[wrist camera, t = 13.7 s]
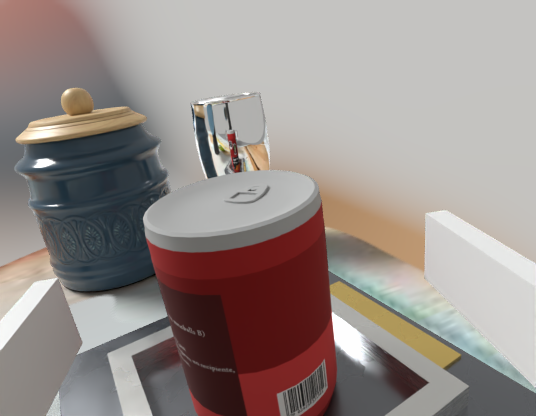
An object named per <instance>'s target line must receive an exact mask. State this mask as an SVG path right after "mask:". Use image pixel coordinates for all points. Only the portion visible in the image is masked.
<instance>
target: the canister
mask: <svg viewBox="0 0 536 416" xmlns="http://www.w3.org/2000/svg"><path fill="white" fill-rule="evenodd" d="M61 104H62V107H63V109H64V111H65V112H66V113H67V115H61V116H56V117H51V118H46V119H41V120H36V121H33V122H30V123H29V125H28V128H27V129H26V130H25V131H24V132H23V133H21V134H20V135H19V136H18V137H17V138H16V142H17V143H19V144H25V153H24V157H23V158H22V159H21V160H20V161H19V162H18V163H17V164H16V165H15V171H16V172H17V173H18V174H20V175H22V176H24V177H25V178H26V180H27V183H28V186H29V190H30V194H31V197H30V199H29V200H28V206H29V207H30V208H31V209H32V210H33V212H34V215H35V218H36V220H37V223H38V225H39V228H40V231H41V234H42V236H43V239H44V242H45V244H46V247H47V249H48V252H49V255H50V264H51V266H52V267H53V271H54V273H55V275H56V276H57V277H58V278H59V279H60V281H61V283H62V284H63V285H64V286H65V287H67V288H69V289H72V290H77V291H101V290H108V289H113V288H117V287H121V286H125V285H128V284H131V283H134V282H137V281H140V280H142V279H145V278H147V277H149V276H151V275H153V274H155V270H154V267H153V263H152V259H151V254H150V250H149V247H148V243H147V240H146V236H145V227H144V222H143V217H144V214H145V212H146V211H147V210H148V209H149V207H150V206H151V205H153V204H154V203H155V202H157V201H158V200H159V199H161V198H162V197H164V196H166V195H167V194H169V193H171V189H170V185H169V181H168V176H169V172H168V170H167V169H165V168H164V167H163V166H162V164H161V161H160V158H159V154H158V148H159V146H160V144H161V139H160V138H158V137H157V136H155V135H152V134H150V133H148V132H147V131H146V129H145V127H144V126H143V124H142V123H143V122H145V121H146V120H147V117H146V116H144V115H142V114H139V113H136V112H134V111H132V110H131V109H130V108H128V107H116V108H107V109H100V110H93V106H94V105H93V100H92V98H91V96H90V95H89V93H88V92H87V91H85V90H84V89H81V88H71V89H68V90H66V91H65V92H64V93H63V95H62V98H61Z"/></svg>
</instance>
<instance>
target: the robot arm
mask: <svg viewBox="0 0 536 416" xmlns="http://www.w3.org/2000/svg"><path fill="white" fill-rule="evenodd" d="M425 227H426V228H425V279H426V280H427V281H428V282H429V283H430V284H431V285H432V286H433V287H434V288H435V289H436V290H437V291H438V292H439V293H440V294H441V295H442V296H443V297H444V298H445V299H446V300H447V301H448V302H449V303H450V304H451V305H452V306H453V307H454V308H455V309H456V310H457V311H458V312H459V313H460V314H461V315H462V316H463V317H464V318H465V319H466V320H467V321H468V322H469V323H470V324H471V325H472V326H473V327H474V328H475V329H476V330H477V331H478V332H479V333H480V334H481V335H482V336H483V337H484V338H485V339H486V340H487V341H488V342H490V343H491V344H492V345H493V346H494V347H495V348H496V349H497V350H498V351H499V352H500V353H501V354H502V355H503V356H504V357H505V358H506V359H507V360H508V361H509V362H510V363H511V364H512V365H513V366H514V367H515V368H516V369H517V370H518V371H519V372H520V373H521V374H522V375H523V376H524V377H525V378H526V379H527V380H528V381H529V382H530V383H531V384H532V385H533V386H534V387H535V388H536V263H534V262H532V261H531V260H529V259H527V258H526V257H524V256H522V255H520V254H519V253H517V252H516V251H514V250H512V249H510V248H509V247H507V246H505V245H504V244H502V243H500V242H499V241H497V240H495V239H494V238H492V237H490V236H489V235H487V234H485V233H484V232H482V231H480V230H479V229H477V228H475V227H473V226H472V225H470V224H468V223H467V222H465V221H463V220H462V219H460V218H458V217H457V216H455V215H453V214H452V213H450V212H448V211H447V210H442V211H436V212H431V213H426V222H425ZM81 345H82V340H81V338H80V335H79V332H78V330H77V327H76V324H75V322H74V319H73V316H72V314H71V311H70V308H69V306H68V303H67V300H66V298H65V295H64V293H63V290H62V287H61V285H60V282H59V279H58V278H54V279H49V280H43V281H37V282H34V283H33V284H32V286H31V287H30V288H29V289H28V290H27V291H26V292H25V294H24V295H23V296H22V297H21V298H20V299H19V300H18V301H17V303H16V304H15V305H14V306H13V307H12V308H11V309H10V310H9V312H8V313H7V314H6V315H5V316H4V317H3V318H2V320H1V321H0V416H46V414H47V412H48V410H49V408H50V406H51V404H52V402H53V400H54V398H55V396H56V395H57V393H58V391H59V389H60V387H61V385H62V383H63V381H64V379H65V377H66V375H67V373H68V371H69V369H70V367H71V365H72V363H73V361H74V359H75V357H76V355H77V353H78V351H79V349H80V347H81Z"/></svg>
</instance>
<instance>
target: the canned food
mask: <svg viewBox="0 0 536 416" xmlns="http://www.w3.org/2000/svg"><path fill="white" fill-rule="evenodd" d="M143 222H144V227H145V236H146V240H147V243H148V247H149V250H150V254H151V259H152V263H153V267H154V270H155V273H156V277H157V280H158V284H159V287H160V291H161V294H162V298H163V301H164V305H165V308H166V311H167V315H168V318H169V322H170V325H171V329H172V332H173V336H174V339H175V343H176V346H177V349H178V353H179V356H180V360H181V363H182V367H183V370H184V374H185V377H186V381H187V384H188V387H189V391H190V394H191V398H192V401H193V405H194V408H195V411H196V413H197V414H198V416H323V415H324V413H325V411H326V410H327V408H328V406H329V404H330V401H331V398H332V394H333V391H334V388H335V384H336V378H337V364H336V352H335V341H334V329H333V318H332V307H331V295H330V284H329V272H328V261H327V249H326V238H325V226H324V219H323V211H322V200H321V197H320V194H319V187H318V184H317V182H315V180H313V179H312V178H310V177H308V176H306V175H303V174H299V173H295V172H290V171H281V170H280V171H279V170H258V171H246V172H239V173H232V174H227V175H222V176H217V177H213V178H209V179H206V180H202V181H199V182H196V183H193V184H190V185H187V186H185V187H182V188H180V189H178V190H175V191H173V192H171V193H169V194H167V195H166V196H164V197H162V198H161V199H159V200H158V201H157V202H155V203H154V204H153V205H151V206H150V207H149V209H148V210H147V211H146V212H145V214H144V217H143Z"/></svg>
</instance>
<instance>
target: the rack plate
mask: <svg viewBox="0 0 536 416" xmlns="http://www.w3.org/2000/svg"><path fill="white" fill-rule="evenodd" d="M328 272H329V284H330V295H331V307H332V318H333V329H334V341H335V352H336V364H337V378H336V384H335V388H334V391H333V394H332V398H331V401H330V404H329V406H328V408H327V410H326V411H325V413H324V415H323V416H536V393H534V392H532V391H530V390H529V389H527V388H525V387H524V386H522V385H520V384H519V383H517V382H515V381H514V380H512V379H510V378H509V377H507V376H505V375H503V374H502V373H500V372H498V371H497V370H495V369H493V368H492V367H490V366H488V365H487V364H485V363H483V362H482V361H480V360H478V359H476V358H475V357H473V356H471V355H470V354H468V353H466V352H465V351H463V350H461V349H460V348H458V347H456V346H454V345H453V344H451V343H449V342H448V341H446V340H444V339H443V338H441V337H439V336H438V335H436V334H434V333H433V332H431V331H429V330H427V329H426V328H424V327H422V326H421V325H419V324H417V323H416V322H414V321H412V320H411V319H409V318H407V317H406V316H404V315H402V314H400V313H399V312H397V311H395V310H394V309H392V308H390V307H389V306H387V305H385V304H384V303H382V302H380V301H379V300H377V299H375V298H373V297H372V296H370V295H368V294H367V293H365V292H363V291H362V290H360V289H358V288H357V287H355V286H353V285H352V284H350V283H348V282H346V281H345V280H343V279H341V278H340V277H338V276H336V275H335V274H333V273H331V272H330V271H328ZM59 397H60V411H61V416H198V414H197V413H196V411H195V408H194V405H193V401H192V398H191V394H190V391H189V387H188V384H187V381H186V377H185V374H184V370H183V367H182V363H181V360H180V356H179V353H178V349H177V346H176V343H175V339H174V336H173V332H172V329H171V325H170V322H169V318H168V317H165V318H163V319H160V320H158V321H156V322H153V323H151V324H149V325H146V326H144V327H142V328H139V329H137V330H135V331H132V332H130V333H128V334H125V335H123V336H121V337H118V338H116V339H113V340H111V341H109V342H106V343H104V344H102V345H99V346H97V347H95V348H92V349H90V350H88V351H85V352H83V353H81V354H78V355H76V357H75V359H74V361H73V363H72V365H71V367H70V369H69V371H68V373H67V375H66V377H65V379H64V381H63V383H62V385H61V387H60V389H59Z"/></svg>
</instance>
